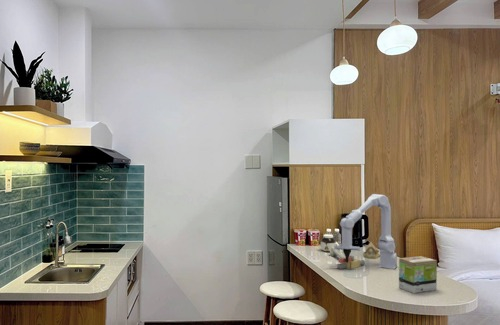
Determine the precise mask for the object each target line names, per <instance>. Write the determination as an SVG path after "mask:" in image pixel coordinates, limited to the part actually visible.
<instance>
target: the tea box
mask: <svg viewBox="0 0 500 325" xmlns="http://www.w3.org/2000/svg"><path fill="white" fill-rule="evenodd" d="M398 259H399V261H398V262H399V263H398V288H399V289H402V290H404V291H407V292H408V293H409V292H410V293H411V294H416V293H421V292H422V293H423V292H430V290H431V291H436V290H437V281H438V280H437V276H438V275H437V274H438V273H437V270H438V262H437V259H432V258H429V257H426V256H423V255H420V256H410V257H400V258H398Z"/></svg>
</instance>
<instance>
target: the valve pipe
mask: <svg viewBox="0 0 500 325" xmlns="http://www.w3.org/2000/svg"><path fill="white" fill-rule="evenodd" d="M365 265H366V261H365V259H357V258H354V261H348V263H346V262H344V263H337V265H336V268H337V269H338V270H342V269H347V270H349V269H350V270H352V269H357V268H360V267H361V266H365Z"/></svg>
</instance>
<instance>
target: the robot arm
mask: <svg viewBox="0 0 500 325" xmlns="http://www.w3.org/2000/svg"><path fill="white" fill-rule="evenodd" d="M389 200H390V199H389V197H387V196H386V195H385V194H377V193H372V194H371V195H370V196H368V198H367V199H366V200H365V201H364V202H363V204H361V206H359V207H358V209H352V210H351V212H350V213H349V214H347V215H346V216H345V217H344V218H341V220H340V222H339V226H340V227H341V245H339V246H334V249H340V251H341V250H342V251H343V254H344V255H345V257H346V263H348V258H349V256H351V252H352V251H358V252H359V251H360V250H361V247H360V246H354V245H353V228H354V226H355V224H356V223H357V222H359V220H360V219H361V218H362V216H363V214H364V213H365V212H366V211H368V210H369V209H370V208H372V207H377V208H379V209H380V210H381V211H380V213H381V214H380V219H381V220H380V224H381V226H380V228H381V229H380V230H381V232H380V233H381V234H380V236H379V237H378V243H377V247H378V250H379V255H380V256H379V265H378V267H379V268H386V269H392V270H396V268H397V267H398V254H397V252H395V251H396V244H395V239H394V238H393V237H392V208H391V204H390V202H389Z"/></svg>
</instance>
